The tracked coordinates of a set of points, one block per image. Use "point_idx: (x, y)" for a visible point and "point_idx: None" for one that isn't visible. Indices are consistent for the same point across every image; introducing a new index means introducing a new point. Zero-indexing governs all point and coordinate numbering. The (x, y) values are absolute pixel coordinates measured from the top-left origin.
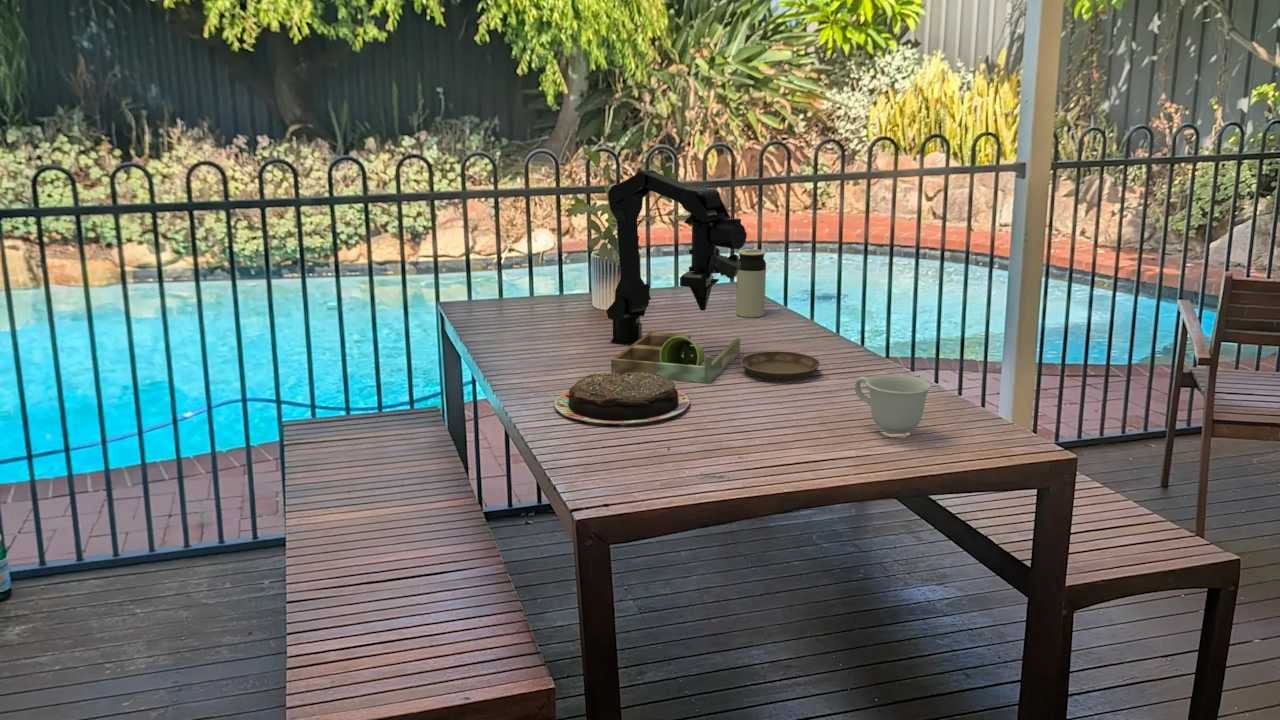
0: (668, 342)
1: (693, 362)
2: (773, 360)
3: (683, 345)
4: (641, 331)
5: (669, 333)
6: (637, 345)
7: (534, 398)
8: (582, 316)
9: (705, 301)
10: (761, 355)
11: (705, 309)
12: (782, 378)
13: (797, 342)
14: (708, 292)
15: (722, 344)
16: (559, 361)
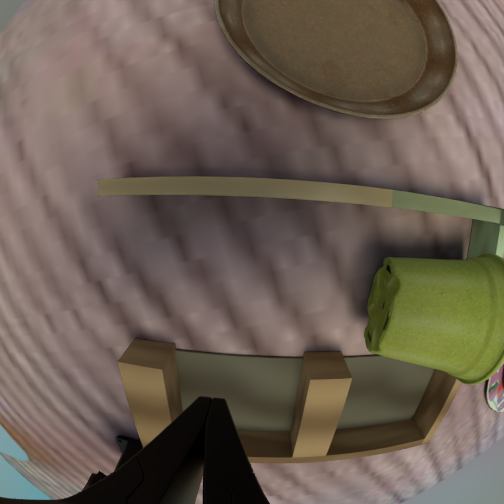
0: (473, 377)
1: (377, 289)
2: (243, 35)
3: (382, 351)
4: (126, 452)
5: (135, 413)
6: (301, 454)
7: (498, 427)
8: (63, 478)
9: (243, 448)
10: (253, 61)
11: (210, 397)
12: (430, 20)
13: (16, 77)
14: (167, 496)
15: (62, 256)
16: (329, 495)
